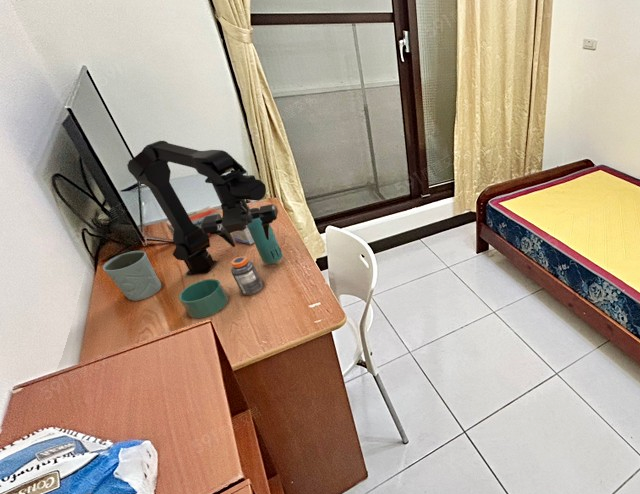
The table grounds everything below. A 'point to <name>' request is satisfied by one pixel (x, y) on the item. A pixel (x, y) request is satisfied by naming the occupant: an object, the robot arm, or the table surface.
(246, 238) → the medicine box
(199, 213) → the medicine box
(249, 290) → the pill bottle
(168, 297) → the table surface
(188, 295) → the green bowl
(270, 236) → the beverage bottle
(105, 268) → the grey green planter pot
